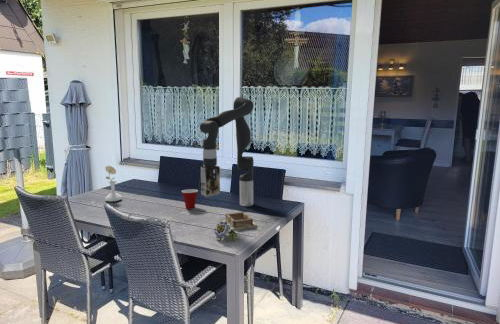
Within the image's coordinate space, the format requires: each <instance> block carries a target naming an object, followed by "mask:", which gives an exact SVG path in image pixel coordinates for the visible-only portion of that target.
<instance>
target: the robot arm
mask: <svg viewBox="0 0 500 324" xmlns="http://www.w3.org/2000/svg"><path fill="white" fill-rule="evenodd" d="M254 106H255V105H254V102H253V101H252V100H250V99H248V98H244V97H241V96H238V97H236V98H235V99H234V101H233V109H229V110H224V111H222V112H220V113H218V114H217V115H215V116H213V117H208V118H206V119H204V120H202V121H201V123H200V124H199V131H200V132H201V133H203V134H208V135H207V137H205V138H203V140H202V144H203V145H202V148H203V149H202V162H203V164H202V165H203V167H204V166H207V167H209V168H210V171H211V175H210V180H211V187H215V180H216V169H215V170H214V166H218V160H217V159H218V156H217V138H218V134H219V129H220V128H222V127H224V126H226V125H227V124H230V123H231V122H233V121H234V123H235V137H236V139H235V140H236V146H237V147H236V150H237V152H236V154H237V155H236V156H237V157H236V165H237V169H238V170H239V171H247V172H246V173H244V174H241V175H239V206H242V207H252V206H253V205H254V163H255V162H254V158H253V156H243V154H244V152H245V151H246V149H247V148H248V146H249V145H250V143H251V139H252V137H251V134H252V133H251V128H250V126H249V124H248V123H247V121H246V119H245V117H246V116H248V115H250V114H252V112H253V110H254Z"/></svg>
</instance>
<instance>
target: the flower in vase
mask: <svg viewBox="0 0 500 324" xmlns="http://www.w3.org/2000/svg"><path fill="white" fill-rule="evenodd" d="M104 170H105V171H106V172H107V173H108V176H106V177H105V179H107V180H110V181H108V183H109V185H110V193H108V195H106V197H105V201H107V202H110V203H111V202H119V201H120V200H122V199H123V197H122V195H121V194H119V193H117V192H116V189H115V188H116V187H115V185H116V183H117V180H115V177H113V178H111V177H110V176H111V175H115V174H117V170H116V168H115V167H114V166H111V165H107V166H105V169H104ZM110 174H111V175H110Z"/></svg>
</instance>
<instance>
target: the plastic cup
mask: <svg viewBox="0 0 500 324" xmlns="http://www.w3.org/2000/svg"><path fill="white" fill-rule="evenodd" d="M198 192H199V190H198V189H196V188H195V189H194V188H193V189H192V188H191V189H189V188H188V189H183V190H181V193H182V196H183V201H184V205H185V208H186V209H187V210H192V209H193V210H194V209H195V208H196V203H197V195H198Z"/></svg>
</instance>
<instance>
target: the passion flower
mask: <svg viewBox="0 0 500 324" xmlns="http://www.w3.org/2000/svg"><path fill="white" fill-rule="evenodd" d="M227 223H228V220H226V221H225V222H222V221H221V222H219V223H217V225H216V227H214V230H212V233H213V234H215V236H216V237H215V238H216V239H217V242H220V241H221V240H222V241H224V240H225V238H226V236H227V237H228V236H229V237H230V239H231V242H233V243H235V239H236V240H238V234H237V232H240V229H238V227H237V229H238V230H237V232H235V230H232V229H230V228H231V227H232V224H231V225H227ZM234 229H235V228H234Z"/></svg>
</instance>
